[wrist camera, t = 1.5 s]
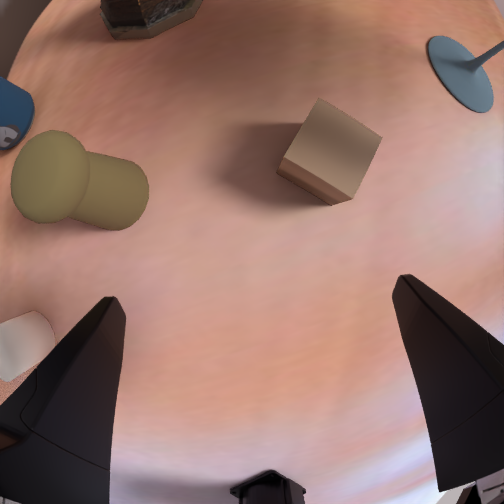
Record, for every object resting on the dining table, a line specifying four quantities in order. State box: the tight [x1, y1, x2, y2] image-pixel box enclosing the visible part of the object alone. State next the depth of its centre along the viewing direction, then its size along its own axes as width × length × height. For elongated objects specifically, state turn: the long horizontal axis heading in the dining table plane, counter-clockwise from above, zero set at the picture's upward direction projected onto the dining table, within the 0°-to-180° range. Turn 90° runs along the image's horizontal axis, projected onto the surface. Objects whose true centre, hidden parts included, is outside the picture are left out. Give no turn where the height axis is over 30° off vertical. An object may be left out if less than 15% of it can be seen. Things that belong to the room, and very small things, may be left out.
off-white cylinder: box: [0, 311, 55, 382], centre depth 19 cm, size 5×5×7 cm
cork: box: [11, 130, 149, 230], centre depth 16 cm, size 6×6×11 cm
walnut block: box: [276, 98, 382, 206], centre depth 19 cm, size 5×5×5 cm
